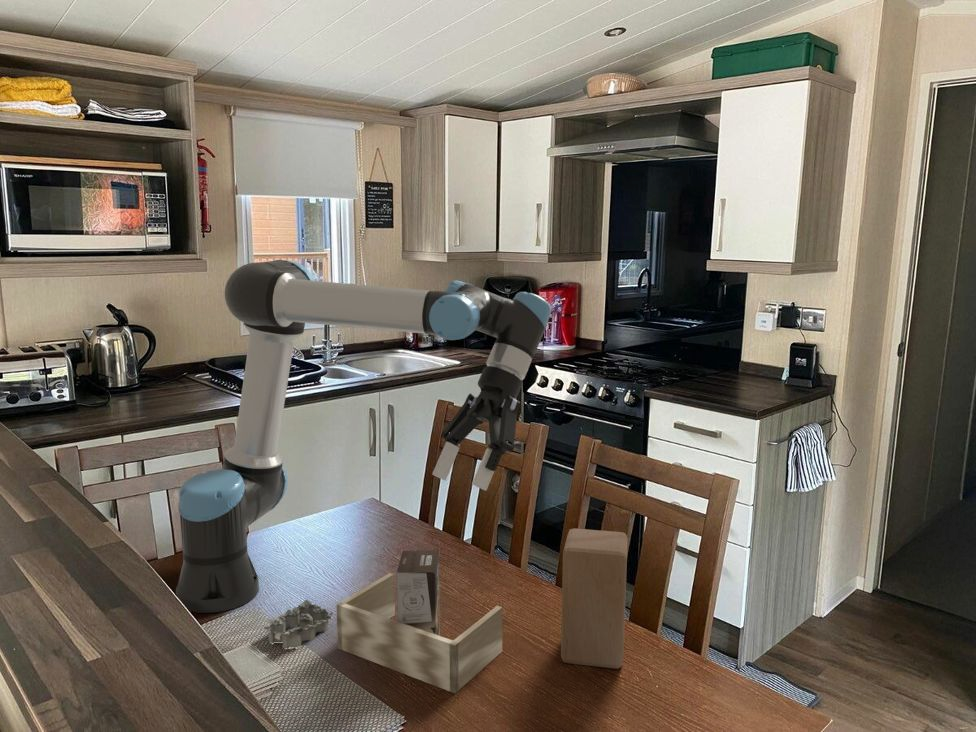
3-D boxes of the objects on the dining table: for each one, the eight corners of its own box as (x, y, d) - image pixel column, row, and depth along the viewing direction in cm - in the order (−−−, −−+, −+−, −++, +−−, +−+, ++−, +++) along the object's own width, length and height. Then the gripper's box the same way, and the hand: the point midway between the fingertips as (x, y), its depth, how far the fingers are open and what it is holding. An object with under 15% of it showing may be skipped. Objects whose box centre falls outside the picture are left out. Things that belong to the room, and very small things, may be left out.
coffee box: (436, 665, 124) (435, 572, 121) (397, 665, 124) (395, 572, 121) (440, 635, 133) (440, 548, 130) (404, 635, 133) (402, 548, 130)
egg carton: (289, 655, 127) (288, 633, 126) (260, 641, 131) (259, 619, 130) (336, 628, 135) (336, 607, 135) (308, 616, 140) (307, 595, 139)
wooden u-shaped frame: (338, 648, 129) (336, 604, 127) (390, 613, 140) (389, 573, 139) (455, 693, 116) (454, 645, 115) (502, 651, 128) (502, 607, 126)
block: (622, 671, 122) (626, 554, 118) (560, 664, 124) (562, 549, 120) (623, 639, 132) (627, 530, 128) (566, 633, 134) (568, 525, 130)
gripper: (561, 384, 129) (515, 500, 124) (482, 381, 150) (439, 481, 144) (530, 363, 125) (480, 483, 120) (453, 364, 146) (408, 465, 141)
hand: (457, 482), depth 132 cm, fingers open, 13 cm apart
